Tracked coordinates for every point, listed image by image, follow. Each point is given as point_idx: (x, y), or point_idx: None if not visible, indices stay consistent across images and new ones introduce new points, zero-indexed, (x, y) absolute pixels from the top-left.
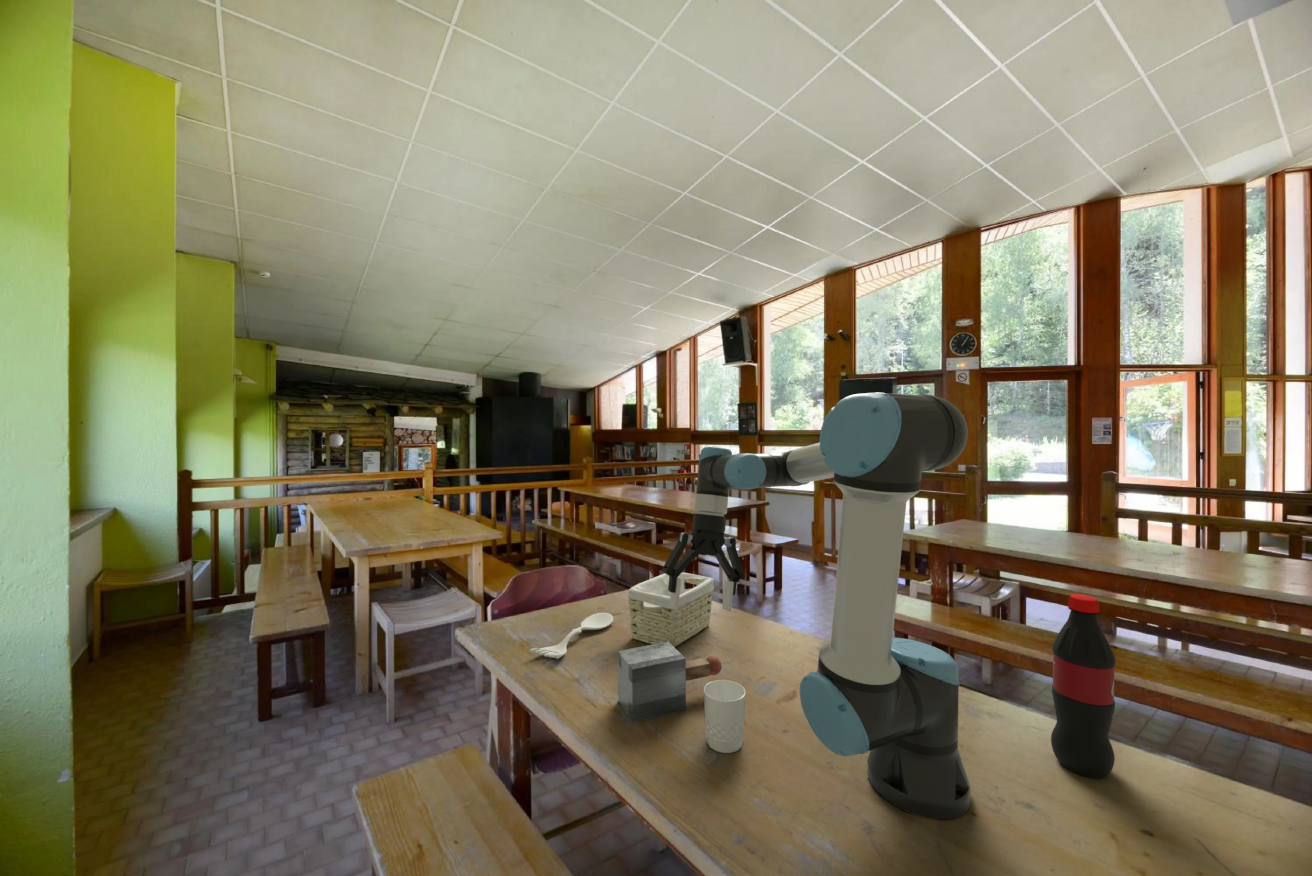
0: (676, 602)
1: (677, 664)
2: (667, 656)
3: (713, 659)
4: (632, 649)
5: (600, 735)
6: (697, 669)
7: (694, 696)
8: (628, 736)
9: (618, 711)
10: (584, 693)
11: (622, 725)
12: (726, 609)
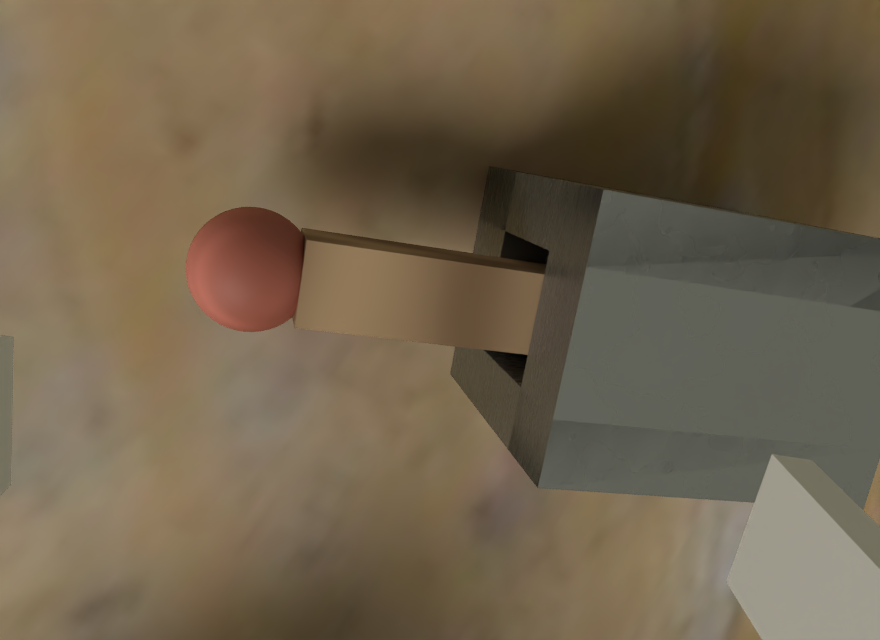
0: (844, 503)
1: (649, 197)
2: (682, 287)
3: (262, 255)
4: None
5: (874, 208)
6: (400, 250)
7: None
8: (802, 137)
9: None
10: None
11: None
12: (8, 390)
